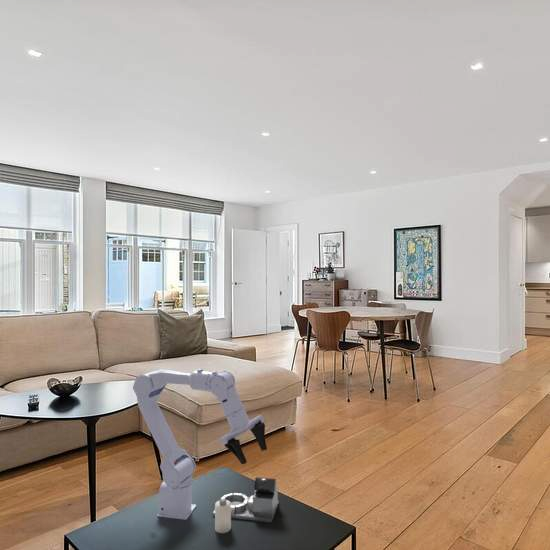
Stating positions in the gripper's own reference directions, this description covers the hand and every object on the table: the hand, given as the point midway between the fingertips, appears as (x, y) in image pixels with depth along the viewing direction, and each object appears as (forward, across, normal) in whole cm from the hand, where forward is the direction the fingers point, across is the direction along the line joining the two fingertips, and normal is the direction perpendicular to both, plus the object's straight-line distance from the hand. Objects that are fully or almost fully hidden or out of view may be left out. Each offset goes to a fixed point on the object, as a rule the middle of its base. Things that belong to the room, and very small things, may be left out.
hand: (254, 456), depth 122 cm
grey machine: (+15, -1, +17) cm, 23 cm away
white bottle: (+14, -12, +12) cm, 22 cm away
